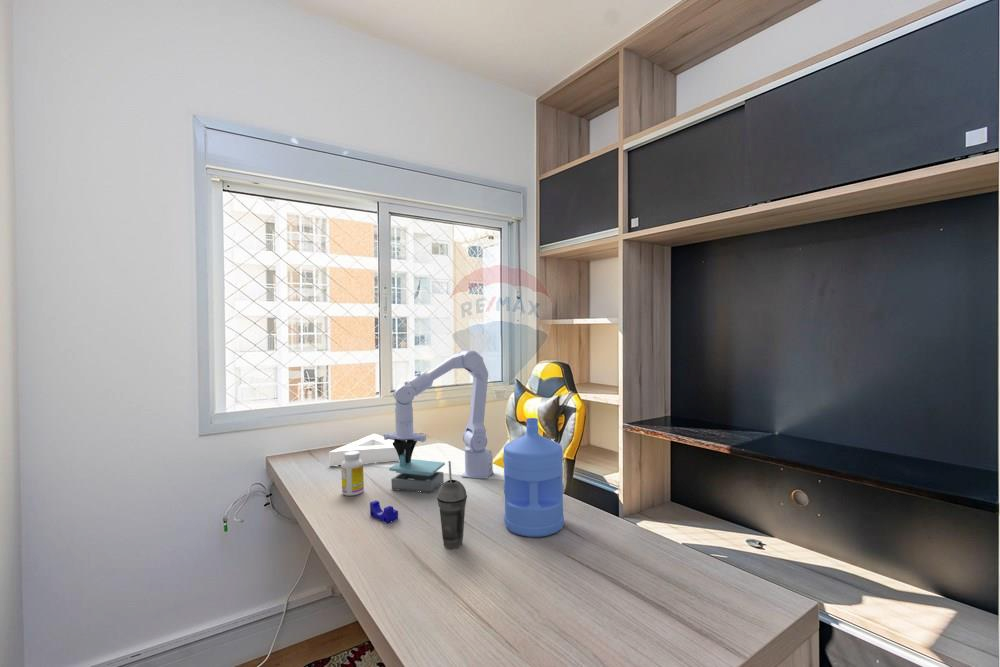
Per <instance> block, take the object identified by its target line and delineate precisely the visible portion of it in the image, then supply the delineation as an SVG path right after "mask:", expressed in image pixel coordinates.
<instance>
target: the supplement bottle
mask: <svg viewBox="0 0 1000 667" xmlns="http://www.w3.org/2000/svg"><path fill="white" fill-rule="evenodd" d="M359 456H360V453H359V451H349V452H346V453H344V458H345V461H343V462H342V464H341V466H340V468H341V469H340V470H341V492H342V494H343V495H344V496H348V497H349V496H350V497H352V496H353V497H354V496H357V495H360V494H362V493H363V492H364V491H365V484H364V480H365V479H364V464H363V461H362V460H361V459H359Z"/></svg>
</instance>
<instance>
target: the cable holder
mask: <svg viewBox="0 0 1000 667" xmlns="http://www.w3.org/2000/svg"><path fill="white" fill-rule="evenodd" d="M369 511H370V512H369V514H370V517H372V518H374V519H376V520H378V521H380V522H383V523H385V522H386V523H385V524H390V523H392V522H395V521H397V520H399V511H398V510H397V509H395V508H394V506H392V505H389V506H386V507H384V508H383V509H382V507H381V504H380V500H372V501H370V502H369ZM396 519H397V520H396ZM394 520H395V521H394ZM391 521H392V522H391ZM389 522H390V523H389Z"/></svg>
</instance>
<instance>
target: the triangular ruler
mask: <svg viewBox="0 0 1000 667" xmlns="http://www.w3.org/2000/svg"><path fill="white" fill-rule="evenodd" d="M393 442H394V440H384V435H383V436H382V435H380V434H378V433H377V434H376V433H372V434H370V435H367V436H365V437H362V438H360V439H358V440H356V441H353V442H349V443H347V444H345V445H343V446H340V447H337V448H335V449H333V450H331V451H329V452H328V457H329V458H328V463H329V466H334V465H341V464H342V462H343V461H345V458H344V453H346V452H349V451H359V453H360V456H359V459H361V460H362V461H363V465H365V464H364V463H374V464H376V463H375V462H387V463H389V462H388V461H400V460H399V456H398V453H397V451H396V449H395V447H394V446H393Z"/></svg>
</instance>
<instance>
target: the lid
mask: <svg viewBox="0 0 1000 667" xmlns="http://www.w3.org/2000/svg"><path fill="white" fill-rule="evenodd" d="M445 465H446V464H445V461H444V462H442V461H434V460H423V459H415V458H411V461H410V462H409V463H406V453H403V454H401V455H400V462H396V463H395V464H394V465H392V466H390V467H389V472H396V473H398V474H400V473H405V474H414V475H423V476H430V475H433V474H434V473H435V472H439V470H440V469H441V468H443V467H444V466H445Z"/></svg>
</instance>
